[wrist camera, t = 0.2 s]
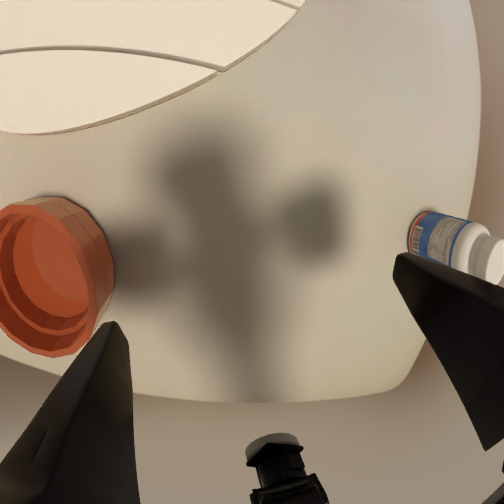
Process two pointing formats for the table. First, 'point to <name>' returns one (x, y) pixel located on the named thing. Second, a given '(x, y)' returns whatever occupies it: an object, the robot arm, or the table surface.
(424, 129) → the table surface
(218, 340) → the table surface
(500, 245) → the pill bottle
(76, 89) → the round slatted board
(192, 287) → the table surface
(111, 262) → the bowl
